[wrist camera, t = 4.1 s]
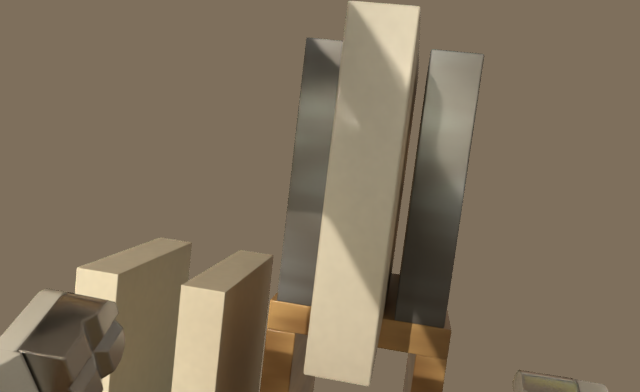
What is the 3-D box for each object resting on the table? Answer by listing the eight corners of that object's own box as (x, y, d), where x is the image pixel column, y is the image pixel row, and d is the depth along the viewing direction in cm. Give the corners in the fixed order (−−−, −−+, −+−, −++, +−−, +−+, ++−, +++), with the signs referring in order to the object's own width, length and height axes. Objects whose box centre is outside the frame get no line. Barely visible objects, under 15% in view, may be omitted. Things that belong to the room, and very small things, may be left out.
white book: (302, 375, 20) (347, -1, 19) (357, 264, 39) (381, 72, 37) (369, 387, 20) (421, 5, 18) (391, 269, 38) (418, 76, 37)
